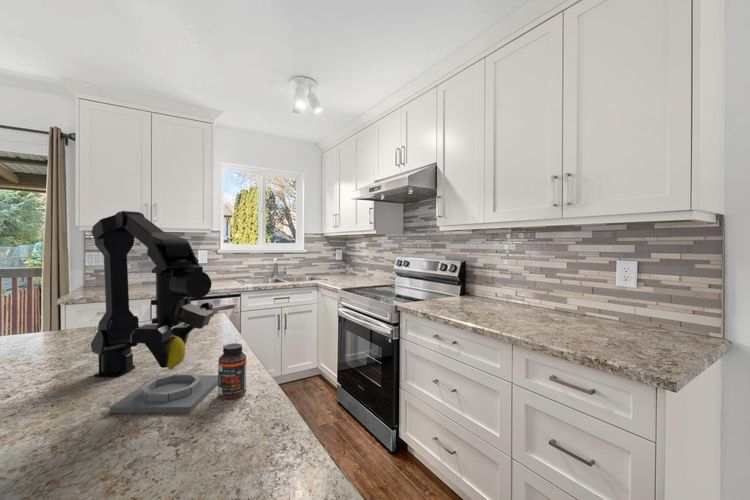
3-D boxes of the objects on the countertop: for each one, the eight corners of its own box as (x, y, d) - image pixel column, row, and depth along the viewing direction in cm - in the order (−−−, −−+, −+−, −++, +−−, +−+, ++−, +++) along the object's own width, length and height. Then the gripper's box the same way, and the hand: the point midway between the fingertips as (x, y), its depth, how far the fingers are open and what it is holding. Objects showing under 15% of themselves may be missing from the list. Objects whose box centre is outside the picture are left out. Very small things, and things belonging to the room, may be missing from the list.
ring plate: (109, 413, 69) (109, 399, 69) (157, 380, 85) (157, 369, 85) (189, 412, 69) (189, 399, 69) (222, 380, 85) (222, 369, 85)
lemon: (172, 375, 74) (172, 338, 73) (150, 373, 75) (150, 337, 75) (191, 366, 79) (190, 332, 79) (170, 364, 80) (170, 330, 80)
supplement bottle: (218, 403, 74) (218, 351, 73) (217, 392, 79) (217, 343, 78) (248, 397, 76) (247, 347, 76) (244, 387, 82) (244, 340, 81)
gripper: (185, 302, 67) (185, 380, 68) (224, 288, 86) (224, 349, 86) (128, 301, 67) (129, 379, 68) (179, 287, 86) (180, 348, 86)
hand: (171, 362), depth 77 cm, fingers closed on lemon, 5 cm apart
